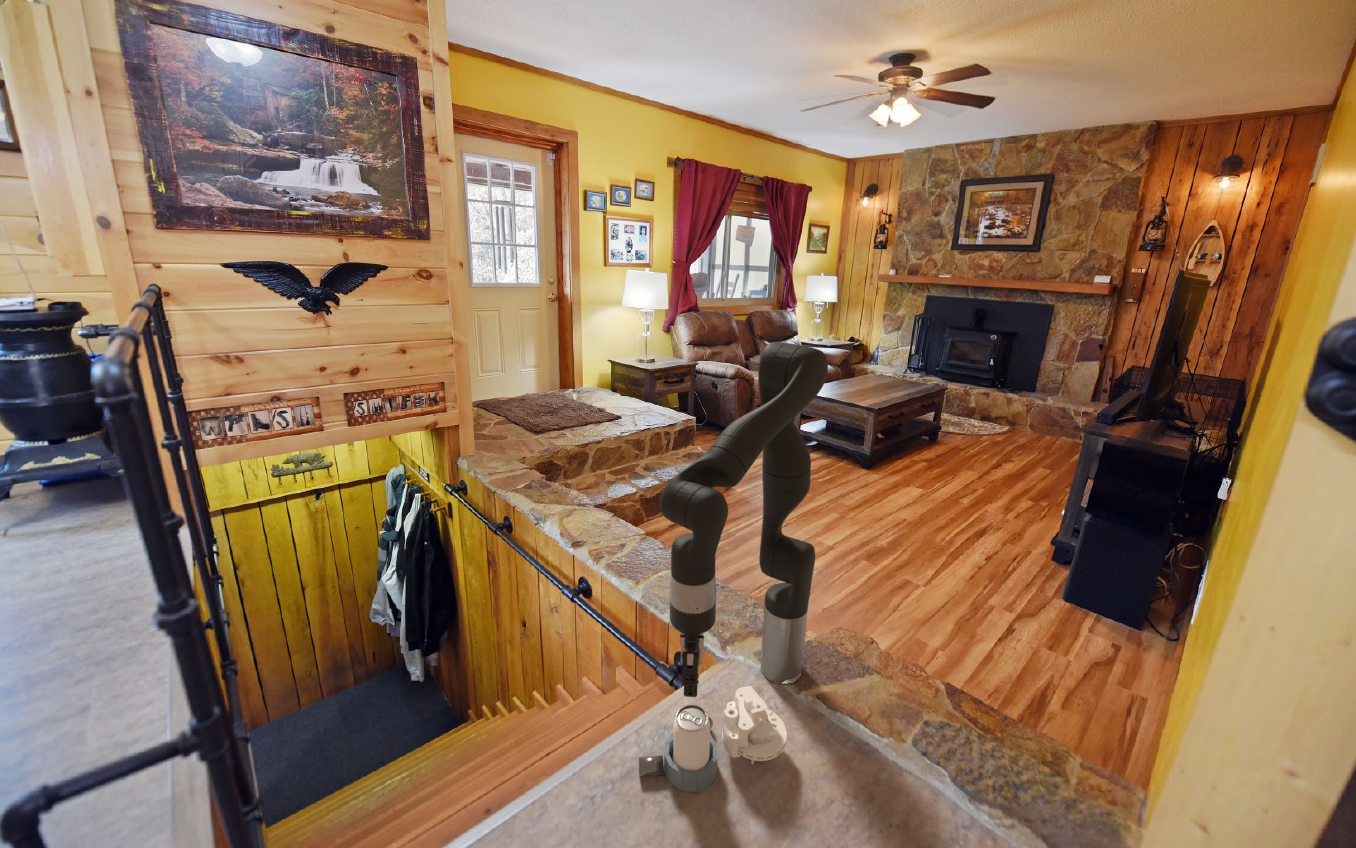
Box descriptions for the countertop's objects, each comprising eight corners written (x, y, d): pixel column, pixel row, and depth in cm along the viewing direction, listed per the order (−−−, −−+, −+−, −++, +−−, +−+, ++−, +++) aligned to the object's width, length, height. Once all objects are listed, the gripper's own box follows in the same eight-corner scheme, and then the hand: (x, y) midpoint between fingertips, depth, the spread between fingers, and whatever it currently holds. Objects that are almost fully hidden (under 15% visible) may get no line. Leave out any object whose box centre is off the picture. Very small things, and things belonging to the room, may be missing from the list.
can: (683, 747, 105) (683, 697, 101) (714, 760, 103) (716, 711, 99) (667, 775, 100) (667, 724, 96) (699, 790, 97) (701, 739, 93)
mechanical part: (789, 778, 101) (793, 729, 97) (723, 777, 101) (725, 727, 97) (779, 726, 111) (783, 679, 107) (720, 724, 111) (721, 678, 107)
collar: (667, 743, 107) (667, 726, 106) (717, 747, 107) (717, 729, 105) (662, 791, 98) (662, 772, 97) (716, 795, 97) (717, 776, 96)
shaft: (662, 763, 103) (662, 751, 102) (663, 778, 100) (663, 766, 99) (638, 765, 103) (638, 753, 102) (639, 780, 100) (639, 768, 99)
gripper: (715, 627, 83) (713, 711, 88) (716, 571, 96) (714, 647, 102) (665, 625, 83) (666, 708, 89) (673, 570, 97) (673, 645, 102)
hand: (691, 675), depth 95 cm, fingers open, 8 cm apart
